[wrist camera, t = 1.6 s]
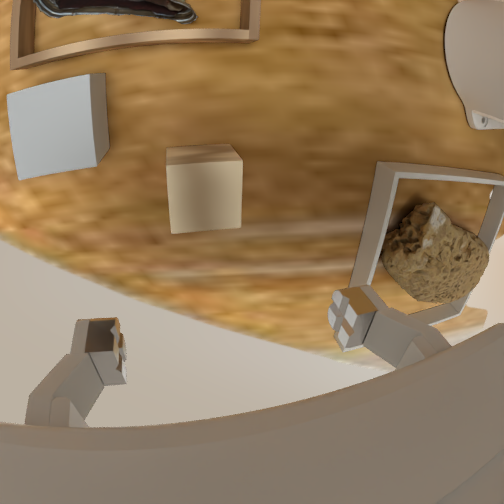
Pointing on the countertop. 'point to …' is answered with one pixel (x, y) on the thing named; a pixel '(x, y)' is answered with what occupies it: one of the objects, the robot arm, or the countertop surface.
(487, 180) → the grey square frame
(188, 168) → the maple block
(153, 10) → the chocolate cake
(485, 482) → the robot arm
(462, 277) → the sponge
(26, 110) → the slate block
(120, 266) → the countertop surface
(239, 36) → the oak cake frame
